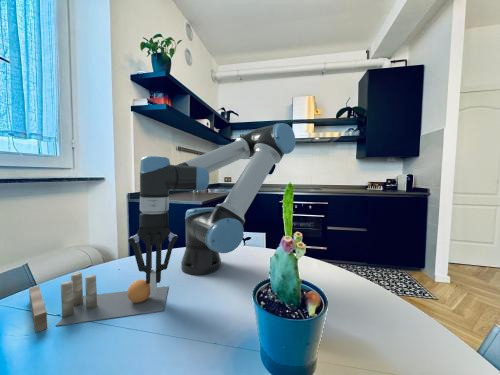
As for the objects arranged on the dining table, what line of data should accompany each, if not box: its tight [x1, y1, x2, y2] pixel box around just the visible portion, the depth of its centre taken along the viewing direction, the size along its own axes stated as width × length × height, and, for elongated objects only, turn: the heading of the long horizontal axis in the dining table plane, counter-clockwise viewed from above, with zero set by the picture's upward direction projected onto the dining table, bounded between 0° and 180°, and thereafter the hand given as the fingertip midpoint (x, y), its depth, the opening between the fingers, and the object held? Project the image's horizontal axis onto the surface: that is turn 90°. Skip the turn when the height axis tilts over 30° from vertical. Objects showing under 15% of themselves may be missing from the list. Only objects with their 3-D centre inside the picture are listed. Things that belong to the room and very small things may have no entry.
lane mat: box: [55, 286, 169, 327], centre depth 62 cm, size 24×13×1 cm, turn 105°
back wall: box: [28, 285, 48, 333], centre depth 57 cm, size 18×2×4 cm, turn 47°
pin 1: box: [60, 280, 74, 319], centre depth 57 cm, size 2×2×8 cm
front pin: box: [84, 274, 98, 309], centre depth 60 cm, size 2×2×8 cm
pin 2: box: [70, 272, 84, 306], centre depth 62 cm, size 2×2×8 cm
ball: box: [127, 279, 150, 303], centre depth 63 cm, size 6×6×6 cm
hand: (153, 293), depth 64 cm, fingers closed
